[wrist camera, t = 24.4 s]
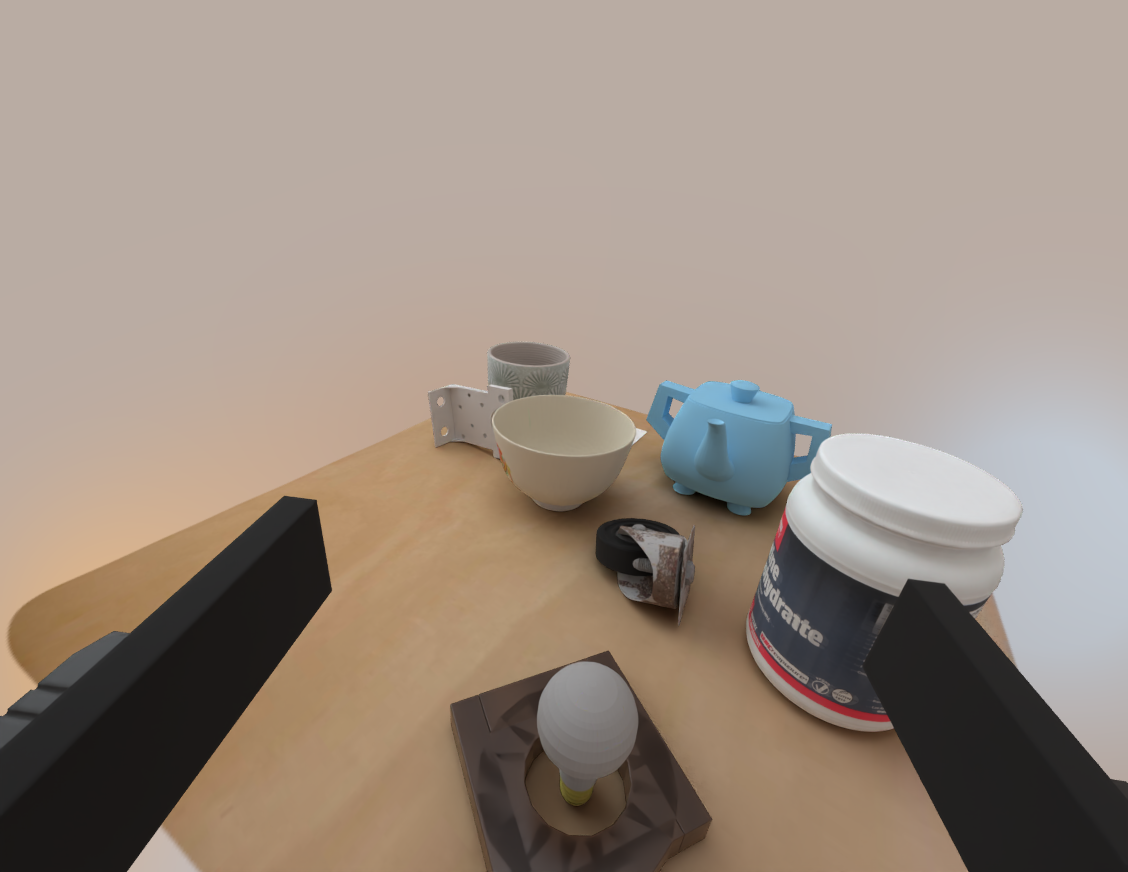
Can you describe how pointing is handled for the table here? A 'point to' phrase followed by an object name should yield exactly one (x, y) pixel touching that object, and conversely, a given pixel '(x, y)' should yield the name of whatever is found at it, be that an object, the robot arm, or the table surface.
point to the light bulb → (586, 726)
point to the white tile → (639, 435)
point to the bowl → (562, 447)
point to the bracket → (467, 414)
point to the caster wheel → (648, 560)
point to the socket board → (520, 835)
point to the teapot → (732, 442)
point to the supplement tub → (869, 564)
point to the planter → (528, 368)
